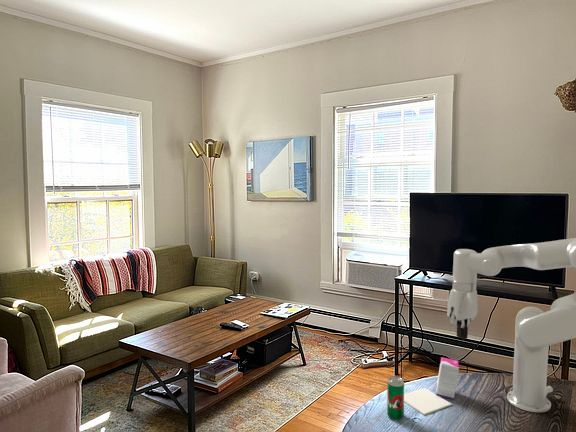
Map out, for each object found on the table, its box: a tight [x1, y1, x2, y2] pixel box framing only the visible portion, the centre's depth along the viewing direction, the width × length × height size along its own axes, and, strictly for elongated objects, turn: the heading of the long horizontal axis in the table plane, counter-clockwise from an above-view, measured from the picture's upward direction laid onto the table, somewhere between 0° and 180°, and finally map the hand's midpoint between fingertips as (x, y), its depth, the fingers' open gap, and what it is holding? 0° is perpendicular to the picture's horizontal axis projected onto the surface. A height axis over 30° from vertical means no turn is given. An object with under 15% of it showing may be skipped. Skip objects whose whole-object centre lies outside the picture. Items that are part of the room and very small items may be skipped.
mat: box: [404, 387, 453, 416], centre depth 146 cm, size 12×12×1 cm
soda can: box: [386, 375, 405, 421], centre depth 138 cm, size 5×5×12 cm
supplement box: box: [435, 356, 460, 400], centre depth 150 cm, size 6×6×12 cm
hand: (461, 337), depth 152 cm, fingers closed
